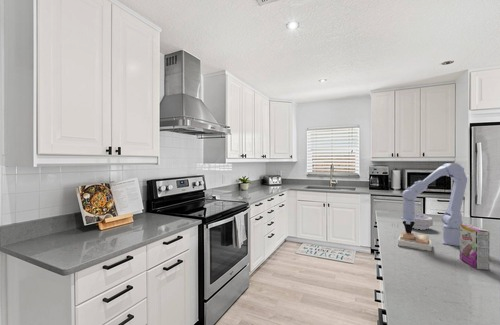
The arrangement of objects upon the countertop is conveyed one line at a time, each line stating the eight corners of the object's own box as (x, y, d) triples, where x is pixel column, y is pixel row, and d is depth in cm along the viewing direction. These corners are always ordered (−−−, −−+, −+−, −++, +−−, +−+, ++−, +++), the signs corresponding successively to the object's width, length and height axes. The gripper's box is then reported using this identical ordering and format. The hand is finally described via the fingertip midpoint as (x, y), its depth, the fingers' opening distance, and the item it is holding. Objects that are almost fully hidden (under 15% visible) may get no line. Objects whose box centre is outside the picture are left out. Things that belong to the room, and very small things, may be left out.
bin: (430, 244, 130) (430, 239, 130) (431, 251, 120) (431, 245, 120) (399, 239, 138) (399, 234, 138) (398, 245, 128) (398, 240, 128)
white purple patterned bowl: (409, 230, 158) (409, 218, 158) (402, 224, 172) (402, 213, 172) (436, 232, 153) (437, 219, 153) (427, 226, 168) (427, 215, 168)
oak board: (428, 239, 139) (428, 236, 139) (429, 244, 130) (429, 241, 130) (402, 235, 146) (402, 232, 146) (400, 240, 137) (400, 236, 137)
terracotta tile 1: (427, 243, 130) (427, 240, 130) (427, 246, 126) (427, 242, 126) (416, 242, 133) (416, 238, 133) (415, 244, 129) (415, 240, 129)
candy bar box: (458, 258, 111) (458, 223, 111) (471, 259, 110) (471, 224, 110) (475, 269, 100) (476, 230, 100) (490, 270, 99) (490, 230, 99)
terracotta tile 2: (413, 236, 137) (413, 233, 137) (413, 239, 133) (413, 235, 133) (403, 235, 140) (403, 231, 140) (402, 237, 136) (402, 233, 136)
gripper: (401, 207, 147) (401, 230, 147) (399, 211, 136) (399, 235, 136) (415, 209, 143) (415, 232, 143) (414, 213, 131) (414, 238, 131)
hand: (408, 234), depth 139 cm, fingers closed
